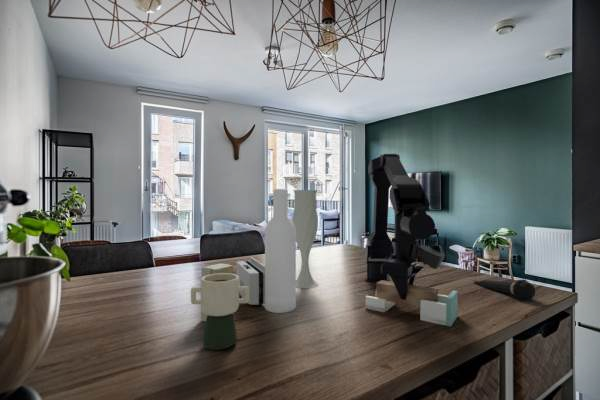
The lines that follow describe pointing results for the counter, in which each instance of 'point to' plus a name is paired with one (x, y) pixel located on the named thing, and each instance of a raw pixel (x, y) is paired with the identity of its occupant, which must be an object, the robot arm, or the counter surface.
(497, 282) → the microphone
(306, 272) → the vase
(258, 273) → the bracket
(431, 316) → the rail brackets
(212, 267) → the skincare box
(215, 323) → the character mug
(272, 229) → the bottle
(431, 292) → the rail
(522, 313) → the counter surface
